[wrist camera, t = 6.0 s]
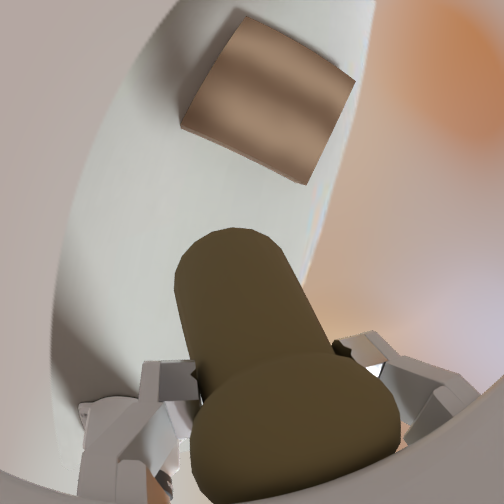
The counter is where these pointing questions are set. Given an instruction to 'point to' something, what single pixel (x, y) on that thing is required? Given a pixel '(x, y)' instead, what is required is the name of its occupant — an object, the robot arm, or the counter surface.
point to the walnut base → (270, 101)
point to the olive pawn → (271, 377)
